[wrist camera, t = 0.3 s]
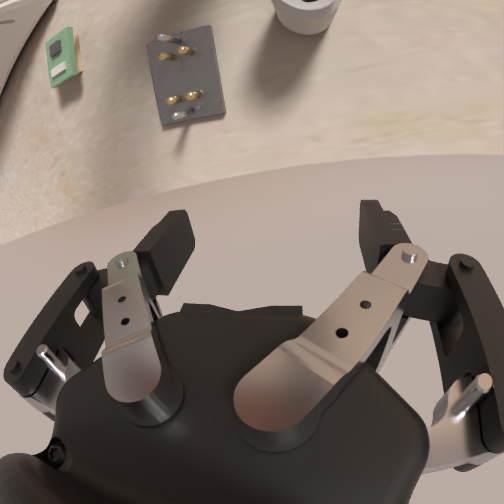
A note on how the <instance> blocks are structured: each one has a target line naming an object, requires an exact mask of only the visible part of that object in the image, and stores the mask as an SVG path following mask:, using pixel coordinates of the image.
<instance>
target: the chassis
mask: <svg viewBox="0 0 504 504" xmlns="http://www.w3.org/2000/svg"><path fill="white" fill-rule="evenodd" d="M156 39H157V40H158V41H155V42H152V43H149V44H147V49H148V55H149V61H150V67H151V72H152V78H153V83H154V88H155V94H156V99H157V103H158V108H159V113H160V118H161V122H162V126H163V125H167V124H171V123H175V122H180V121H185V120H189V119H194V118H199V117H205V116H210V115H216V114H222V113H226V109H225V103H224V97H223V92H222V86H221V80H220V74H219V68H218V62H217V56H216V50H215V44H214V39H213V33H212V27H211V26H210V25H207V26H203V27H200V28H196V29H192V30H189V31H185V32H182V33H179V34H175V35H172V36H169V35H165V34H161V33H160V34H158V35H157V36H156Z"/></svg>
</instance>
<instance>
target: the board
mask: <svg viewBox="0 0 504 504" xmlns="http://www.w3.org/2000/svg"><path fill="white" fill-rule="evenodd" d="M46 52H47V61H48V69H49V76H50V83H51V88H55V87H58V86H59V85H61V84H62V83H64V82H66V81H67V80H69V79H71V78H72V77H74V76H76V75H77V74H78V69H77V63H76V55H75V47H74V38H73V28H72V27H66V28H65V29H63V30H62V31H61V32H59V33H58V34H57V35H55V36H54V37H53V38H51V39H50V40H49V41H48V42H46Z"/></svg>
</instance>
